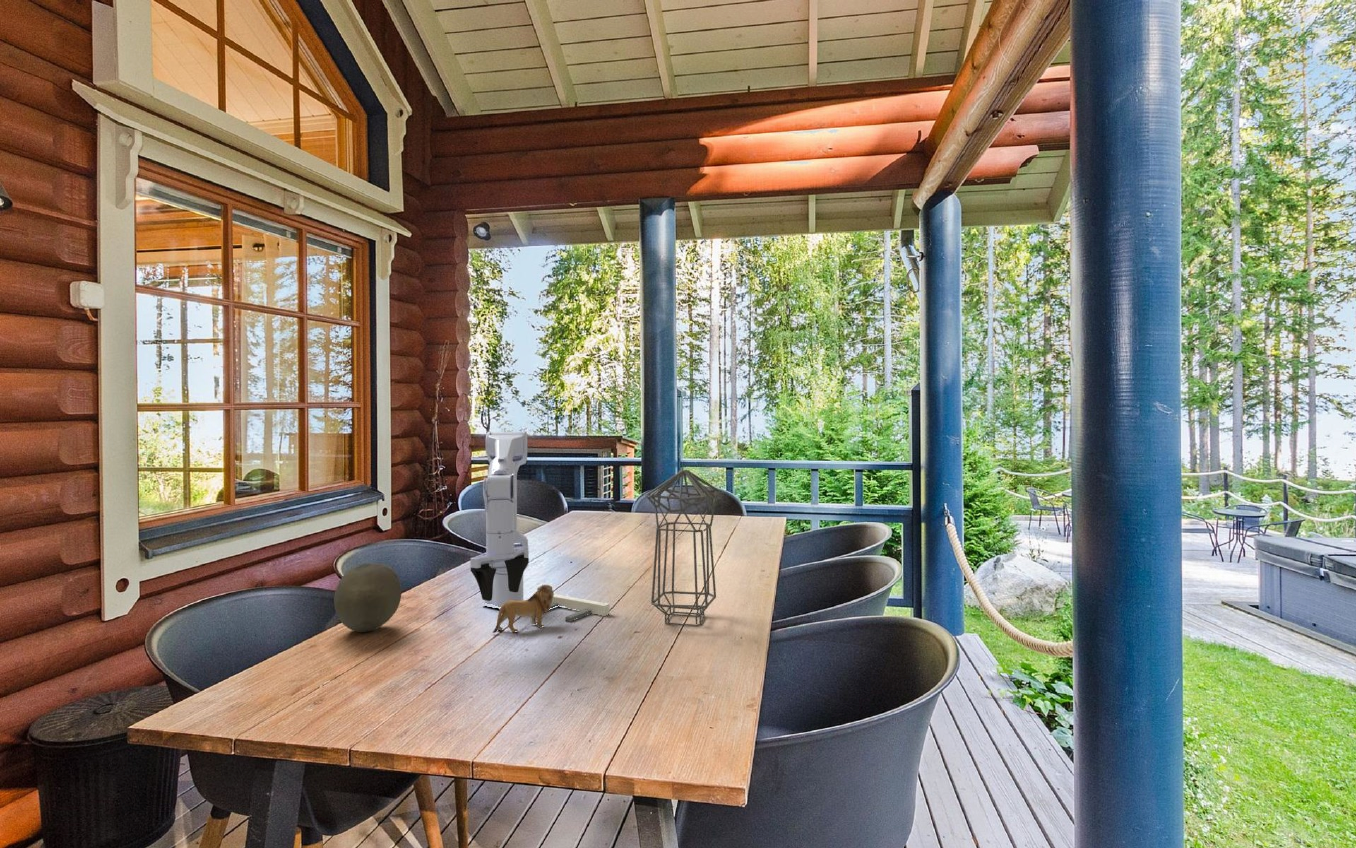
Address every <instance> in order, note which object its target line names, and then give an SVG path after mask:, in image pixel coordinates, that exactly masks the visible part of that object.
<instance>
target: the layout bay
mask: <svg viewBox="0 0 1356 848" xmlns="http://www.w3.org/2000/svg"><path fill="white" fill-rule="evenodd" d="M558 605H559V606H565V607H567V608H570V609H576V610H579V611H576V612H575V613H572V614H568V615H566V616H565V621H566V620H568V621H572V620H574V619H576V618H580V617H582V616H585V615H587V614H590V615H594V614H598V615H597V616H600V615H602V616H601V617H606V615H607V616H609V615H610V614H611V613H610V609H611V607H610V603H606V602H601V601H595V600H590V599H584V598H579V597H573V596H566V595H562V594H557V593H554V596H553V601H552V604H551V605H550V608H553V607H555V606H558ZM550 608H549V609H550ZM591 613H592V614H591ZM608 614H609V615H608ZM587 616H588V615H587ZM585 617H586V616H585ZM582 618H583V617H582ZM580 619H581V618H580ZM568 621H567V622H568ZM572 622H573V621H572Z"/></svg>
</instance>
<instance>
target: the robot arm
mask: <svg viewBox="0 0 1356 848" xmlns="http://www.w3.org/2000/svg"><path fill="white" fill-rule="evenodd" d="M485 454H486V457H487V461H488V463H489V468H488V472H487V477H484V478H483V485H482V493H483V495H482V496H483V500H484V511H485V512H486V513H485V516H486V517H485V529H486V530H485V534H486V535H485V537H486V538H485V541H486V543H485V544H486V546H485V549H486V552H484V553H481V554H479V555H477V556H473V557H470V572H471V574H472V575H473V578H475V580H476V583H477V584H478V588H479V592H480V595H481V598H482V599H481V600H482V601H484V604H485V603H487V604H493V605H495V606H498V607H502V605H503V604H504V603H506V602H507V601H510V600H515V601H524V600H525V598H524V572H525V570H526V569H528V567H529V563H530V562H529V561H530V557H529V556H530V555H529V553H530V551H529V540H528V537H527V536H526V535H525V534H523V533H521V532H520V531H518V486H517V485H518V478H517V477H518V471H519V468H520V466H522V465H525V464H526V463H527V460H528V433H527V432H526V431H525V430H524V431H523V430H522V431H487V433H486V435H485Z"/></svg>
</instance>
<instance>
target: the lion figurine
mask: <svg viewBox="0 0 1356 848" xmlns="http://www.w3.org/2000/svg"><path fill="white" fill-rule="evenodd" d="M554 594H555V593H554V589H553V586H552V585H549V584H542V585H540V586H538V587H537V588H536V591H535V592H534V593H533V594H532V596H530V597H529V598H527V599H526V600H525V599H524V601H515V600H510V601H507V602H506V603H504V604H503V605H502V607H501V608H500V610H499V611H498V614H497V619H496V620H497V621H496V626H495V627H494V630H493V631H492V632H491V633H492V634H495V633H497V630H502V629H503V630H504V628H503V626H502V627H501V625H502V623H503V622H504V621H505V620H508V623H507V627H508V628H509V629H510V631H511V633H513V632H515V631H518V632H519V630H518V629H516V628H514V623H515V620H516V617H517V616H519V617H523V618H525V617H526V618H527V617H531V620H530V621H531V622H530V623H532V624H536V623H537V625H536V626H537V627H538V626H539V627H542V626H544V627H545V625H544V624H542V621H543V614H544V612H545V613H547V612H549V611H548V610H549V608H550V605H551V604H552V601H553V596H554ZM532 624H531V625H532ZM539 627H538V628H539ZM503 630H502V631H503Z"/></svg>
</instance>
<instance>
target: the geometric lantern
mask: <svg viewBox="0 0 1356 848" xmlns="http://www.w3.org/2000/svg"><path fill="white" fill-rule="evenodd" d="M687 479H688V481H689V482H690V484H691V485H692V487H693V488H694V489H695V491H696V493H693V492H691V493H690V492H689V487H688V481H687ZM679 481H680V482H679ZM678 482H679V483H680V485H679V490H677V489H676V487H677V485H678ZM683 484H684V485H683ZM683 486H684V487H685V491H683ZM706 486H707V487H709V488H711V489H708V488H707V487H706ZM670 487H672V488H671V489H670ZM664 492H667V493H668V495H662V494H663V493H664ZM675 493H676V494H675ZM720 493H722V490H720V489H719V488H717V487H715V486H713V485H712V484H711V483H709V482H707V481H705V480H704V479H703V478H701V477H699V476H698V475H696V474H694V473H693V472H691V471H690V470H689V469H680V470H679V471H678V472H677V473H676V474H675V475H673V476H671V477H670V478H668V479H667V480H666V481H664V482H663V483H661V484H659V485H658V486H656V487H655V488H654V489H652V490H651V491H649V492H647V493H646V494H645V498H646V499H647V500H648V501H649V502H650V503H651V504H652V506H653V507H654V511H655V512H654V514H655V523H656V530H655V545H654V561H653V573H652V584H651V585H652V586H651V587H652V588H651V589H652V590H651V602H650V603H651V605H652V606H653V607H655V608H656V609H658V610H659V611H660V612H661V613H662V614H663V615H664V624H666V625H673V626H687V627H688V626H689V627H698V626H702V624H703V621H704V619H705V616H706V614H705V611H706V610H707V609H708V607H709V606H710V605H711V604H712V603H713V602H714V600H715V599H717V593H716V592H717V591H716V590H717V588H716V579H715V578H716V577H715V576H716V575H715V566H714V562H715V561H714V552H713V551H714V550H713V539H712V526H713V520H714V515H715V511H716V510H715V509H716V507H717V502H718V501H717V500H718V497H719V496H720ZM677 494H679V496H678V495H677ZM683 495H687V497H683ZM690 496H691V497H690ZM661 499H666V502H667V505H668V507H667V506H666V505H665V504H663V503H661ZM670 500H678V502H679V507H680V508H678V509H672V508H671V505H670V504H671V503H670ZM692 500H694V501H692ZM706 500H707V507H708V508H707V509H706V510H705V513H704V515H702V513H701V511H700V509H699V507H698V506H700V504H701V503H702V502H704V501H706ZM690 501H692V502H690ZM682 504H684V505H682ZM692 506H694V507H696V509H697V512H698V514H699V516H700V517H701V519H702V520H701V522H693V521H691V519H690V518H689V516H688V514H687V512H686V511H685V510H686V509H688V508H690V507H692ZM658 508H659V510H660V512H661V515H662V517H663V518H662V520H661V521H660V523H659V517H658ZM661 508H663V509H665V510H666V513H665V515H664V512H663V511H662V509H661ZM708 511H711V517H710V522H709V523H707V522H706V521H705V519H706V516H707V513H708ZM678 512H679V513H678ZM668 513H678V514H677V516H676V518H675V520H674V521H672V522H671V521H670V522H668V520H667V519H666V517H667V515H668ZM682 514H683V515H684V516H685V518H686V520H687V522H682V521H681V522H679V521H678V520H679V519H680V516H681V515H682ZM664 521H665V523H664ZM669 525H673V527H672V528H673V529H671V528H669ZM676 525H690V526H691V528H692V529H693V530H692V529H676ZM694 525H699V527H698V529H697V528H695V526H694ZM703 525H704V526H705V528H704V529H701V528H702V526H703ZM664 526H665V528H662V527H664ZM661 531H665V540H664V541H665V544H664V561H663V562H664V563H663V578H662V579H663V580H662V581H663V582H662V593H661V539H662V538H661V536H662V535H661V534H662V533H661ZM669 532H672V561H671V563H672V564H671V565H672V567H671V571H672V572H671V590H670V591H665V590H666V578H667V577H666V576H667V559H668V542H669ZM676 532H685V533H693V534H692V535H693V541H692V542H693V562H694V563H693V565H694V568H693V569H694V592H693V591H682V590H681V591H680V590H678V591H677V590H675V558H676V556H675V554H676ZM704 532H705V535H706V536H705V538H706V539H705V540H704ZM696 533H700V543H701V545H700V546H701V561H702V572H703V573H702V576H703V591H704V592H698V590H699V589H698V566H697V562H698V561H697V543H696V542H697V539H696ZM704 541H706V555H705V543H704ZM709 548H710V549H709ZM709 552H710V553H709ZM709 555H710V556H709ZM705 556H706V557H705ZM705 558H706V559H705ZM710 562H711V576H712V589H713V594H712V593H710ZM656 573H657V597H656V598H655V586H656ZM674 594H675V595H676V594H678V595H679V594H680V595H695V596H694V597H695V598H694V599H695V605H694V604H675V595H674ZM667 595H671V597H672V604H671V602H670V599H668V597H667ZM699 595H700V596H704V600H703V601H702V603H701V605H699V599H698V598H699ZM663 596H664V598H665V600H666V601H667V603H668V604H664V603H663V604H661V598H662V597H663ZM709 596H710V597H712V598H711V599H710V600H709V601H708V597H709ZM704 604H705V605H704ZM665 608H667V610H665ZM676 609H684V610H692V611H693V610H694V611H696V612H685V611H676ZM668 612H669V613H668ZM671 616H675V617H676V616H677V617H688V618H690V617H691V618H695V623H678V622H677V623H676V622H670V617H671ZM698 619H699V622H698Z"/></svg>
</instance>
